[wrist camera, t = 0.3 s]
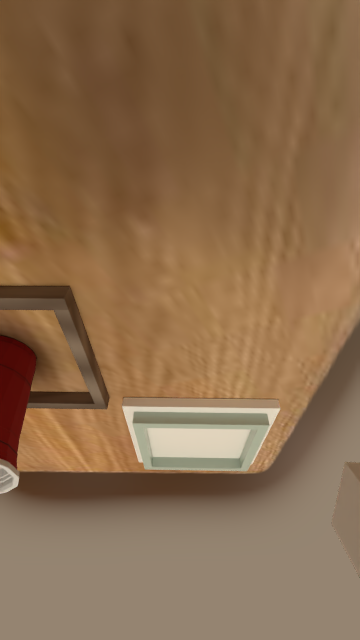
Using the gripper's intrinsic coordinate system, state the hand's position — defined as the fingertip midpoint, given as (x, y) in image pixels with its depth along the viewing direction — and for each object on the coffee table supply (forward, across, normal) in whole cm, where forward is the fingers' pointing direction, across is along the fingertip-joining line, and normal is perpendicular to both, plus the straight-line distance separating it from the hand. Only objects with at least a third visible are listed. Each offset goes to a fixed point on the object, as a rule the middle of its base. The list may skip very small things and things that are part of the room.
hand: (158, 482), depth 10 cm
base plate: (+27, +3, -18) cm, 33 cm away
